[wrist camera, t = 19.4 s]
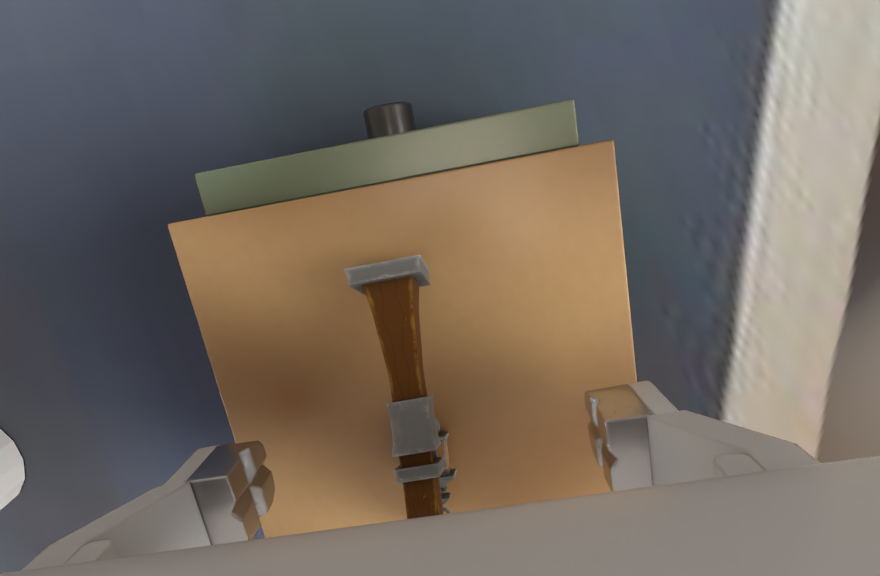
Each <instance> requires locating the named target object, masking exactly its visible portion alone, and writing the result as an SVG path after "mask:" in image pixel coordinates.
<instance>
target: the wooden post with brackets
mask: <svg viewBox="0 0 880 576" xmlns="http://www.w3.org/2000/svg"><path fill="white" fill-rule="evenodd" d="M343 270H344V271H345V272H346V274H347V277H348V286H350V287H352V288H353V289H355V290H357V291H358V292H360V293H362V294H363V295H365V296H366V297H367V300H368V303H369V306H370V309H371V311H372V314H373V318H374V322H375V326H376V330H377V333H378V337H379V341H380V345H381V349H382V353H383V356H384V360H385V364H386V368H387V372H388V378H389V384H390V390H391V396H392V402H390V403H387V404H386V405H387V408H388V412H389V415H390V421H391V430H392V439H393V451H392V457H397V456H399V460H400V465H399V466H398V467H397V468H396V469H394V470H393V471H394V472H395V475H396V484H397V483H403V489H404V497H405V505H406V513H407V519H412V518H420V517H427V516H435V515H442V514H443V512H444V511H445V512H447V513H448V514H450V513H451V512H450V511H449V510H448V509H447V508H444V507H443V504H445V503H446V502H447V501H448V500H449V499H450V496H451V493H448V492H446V491H447V488H448V487H447V486H446V484H448V483H449V482H450V481H452V480H454V478H455V475H456V473H457V469H456V468H454V469H451V467H450V464H449V456H448V447H447V437H448V435H449V434H448V432H446V433H440V434H439V432H440V424H439V421H438V420H437V419H436V418H435V415H434V409H433V395H429V396H428V395H427V389H426V382H425V375H424V369H423V358H422V344H421V330H420V317H419V287H423V286H428V285H431V284H430V282H429V273H430V270H429V268H428V267H427V265H426V263H425V262H424V260H423V259H422V257H421V255H415V256H410V257H404V258H399V259H394V260H389V261H384V262H379V263H373V264H368V265H363V266H358V267H353V268H347V269H343ZM444 492H446V493H444Z"/></svg>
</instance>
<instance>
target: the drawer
mask: <svg viewBox="0 0 880 576" xmlns="http://www.w3.org/2000/svg"><path fill="white" fill-rule="evenodd" d="M364 119H365V124H366V129H367V133H368V138H369V139H367V140H362V141H357V142H352V143H347V144H342V145H337V146H331V147H326V148H321V149H316V150H311V151H306V152H301V153H296V154H291V155H286V156H281V157H276V158H271V159H266V160H261V161H255V162H250V163H245V164H240V165H235V166H230V167H225V168H220V169H215V170H210V171H205V172H200V173H196V174H195V179H196V182H197V186H198V189H199V193H200V196H201V200H202V203H203V206H204V210H205V213H206V215H207V216H212V215H217V214H223V213H228V212H233V211H238V210H244V209H249V208H254V207H260V206H265V205H270V204H275V203H281V202H286V201H291V200H296V199H302V198H307V197H312V196H318V195H323V194H328V193H333V192H339V191H344V190H349V189H354V188H360V187H365V186H370V185H376V184H381V183H386V182H391V181H397V180H402V179H407V178H413V177H418V176H423V175H428V174H434V173H439V172H444V171H449V170H455V169H460V168H465V167H471V166H476V165H481V164H486V163H492V162H497V161H502V160H507V159H513V158H518V157H523V156H529V155H534V154H539V153H544V152H550V151H555V150H560V149H565V148H571V147H576V146H579V136H578V128H577V119H576V110H575V101H574V100H573V99H570V100H565V101H560V102H554V103H549V104H544V105H539V106H534V107H529V108H524V109H519V110H514V111H509V112H504V113H499V114H494V115H489V116H484V117H478V118H473V119H468V120H463V121H458V122H453V123H448V124H443V125H438V126H433V127H428V128H423V129H418V130H416V128H415V123H414V117H413V112H412V107H411V104H410V103H407V102H396V103H389V104H383V105H379V106H375V107H372V108H369V109H367V110H365V111H364Z"/></svg>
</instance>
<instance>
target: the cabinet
mask: <svg viewBox="0 0 880 576" xmlns="http://www.w3.org/2000/svg"><path fill="white" fill-rule="evenodd" d="M168 229H169V232H170V235H171V238H172V241H173V245H174V248H175V251H176V254H177V257H178V261H179V264H180V267H181V270H182V273H183V277H184V280H185V283H186V286H187V289H188V293H189V296H190V299H191V302H192V305H193V309H194V312H195V315H196V318H197V321H198V325H199V328H200V331H201V334H202V337H203V341H204V344H205V347H206V350H207V353H208V356H209V360H210V363H211V366H212V369H213V372H214V376H215V379H216V382H217V385H218V388H219V392H220V395H221V398H222V401H223V404H224V408H225V411H226V414H227V417H228V420H229V424H230V427H231V430H232V433H233V436H234V440H235V443H242V442H249V441H257V440H258V441H260V442H261V443H262V444H263V446H264V449H265V452H266V455H267V457H266V459H265V462H264V464H263V465H264V466H266V467H267V468H268V469H269V470H270V471H271V472H272V475H273V478H274V485H275V493H274V499H273V503H272V505H271V507H270V509H269V511H268V512H266V513H265V514H264V515H262V516H261V517H260V518H259V519H260V523H261V526H262V529H263V532H264V535H265V538H270V537H277V536H285V535H292V534H300V533H307V532H315V531H322V530H330V529H337V528H345V527H352V526H360V525H367V524H375V523H382V522H390V521H397V520H405V519H407V513H406V505H405V497H404V489H403V483H397V484H396V475H395V472H394V471H393V470H394V469H396V468H397V467H398V466H399V465H400V460H399V456H397V457H392V451H393V439H392V430H391V421H390V415H389V412H388V408H387V405H386V404H387V403H390V402H392V396H391V390H390V384H389V378H388V372H387V368H386V364H385V360H384V356H383V353H382V349H381V345H380V341H379V337H378V333H377V330H376V326H375V322H374V318H373V314H372V311H371V309H370V306H369V303H368V300H367V297H366V296H365V295H363V294H362V293H360V292H358V291H357V290H355V289H353V288H352V287H350V286H348V277H347V274H346V272H345V271H344V270H343V269H347V268H353V267H358V266H363V265H368V264H373V263H379V262H384V261H389V260H394V259H399V258H404V257H410V256H415V255H421V257H422V259H423V260H424V262H425V263H426V265H427V267H428V268H429V270H430V273H429V282H430V284H431V285H428V286H423V287H419V317H420V330H421V344H422V358H423V369H424V375H425V382H426V389H427V395H428V396H429V395H433V409H434V415H435V418H436V419H437V420H438V421H439V424H440V432H439V434H440V433H446V432H448V434H449V435H448V437H447V447H448V456H449V464H450V467H451V469H454V468H456V469H457V473H456V475H455V478H454V480H452V481H450V482H449V483H448V484H446V486H447V487H448V488H447V491H446V492H448V493H451V496H450V499H449V500H448V501H447V502H446V503H445V504H443V507H444V508H447V509H448V510H449V511H450V512H451V513H457V512H465V511H472V510H480V509H487V508H495V507H502V506H509V505H517V504H524V503H532V502H539V501H547V500H554V499H562V498H569V497H576V496H584V495H591V494H599V493H606V492H611V490H610V488H609V486H608V484H607V482H606V480H605V478H604V471H603V467H601V466H599V465H598V463H597V461H596V459H595V456H594V454H593V451H592V447H591V442H590V438H589V431H588V424H589V423H590V421H591V418H590V416H589V414H588V412H587V410H586V408H585V392H586V391H588V390H594V389H600V388H606V387H611V386H617V385H623V384H632V383H637V376H636V366H635V356H634V345H633V335H632V324H631V314H630V304H629V293H628V283H627V272H626V262H625V252H624V241H623V231H622V220H621V210H620V200H619V189H618V179H617V168H616V158H615V148H614V141H613V140H608V141H602V142H597V143H592V144H587V145H581V146H576V147H571V148H565V149H560V150H555V151H550V152H544V153H539V154H534V155H529V156H523V157H518V158H513V159H507V160H502V161H497V162H492V163H486V164H481V165H476V166H471V167H465V168H460V169H455V170H449V171H444V172H439V173H434V174H428V175H423V176H418V177H413V178H407V179H402V180H397V181H391V182H386V183H381V184H376V185H370V186H365V187H360V188H354V189H349V190H344V191H339V192H333V193H328V194H323V195H318V196H312V197H307V198H302V199H296V200H291V201H286V202H281V203H275V204H270V205H265V206H260V207H254V208H249V209H244V210H238V211H233V212H228V213H223V214H217V215H212V216H207V217H202V218H196V219H191V220H186V221H180V222H175V223H170V224H168ZM446 492H444V493H446ZM443 514H448V513H447V512H445V511H444V512H443Z"/></svg>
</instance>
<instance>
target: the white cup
mask: <svg viewBox="0 0 880 576" xmlns="http://www.w3.org/2000/svg"><path fill="white" fill-rule="evenodd" d="M24 480H25V472H24V462H23V458H22V456H21V455H20V453H19V451H18V449H17V447H16V445H15V443H14V441H13V440H12V439H11V438H10V437H9V436H7V435H6V434H5V433H4V432H3V431H2V430H1V429H0V510H1V509H2V508H3V507H5V506H6V505H7V504H8V503H9V502H10V501H12V500H13V499H14V498H15V497H16V496H17V495H18V494H19V492H20V490H21V487H22V485H23V482H24Z"/></svg>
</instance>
